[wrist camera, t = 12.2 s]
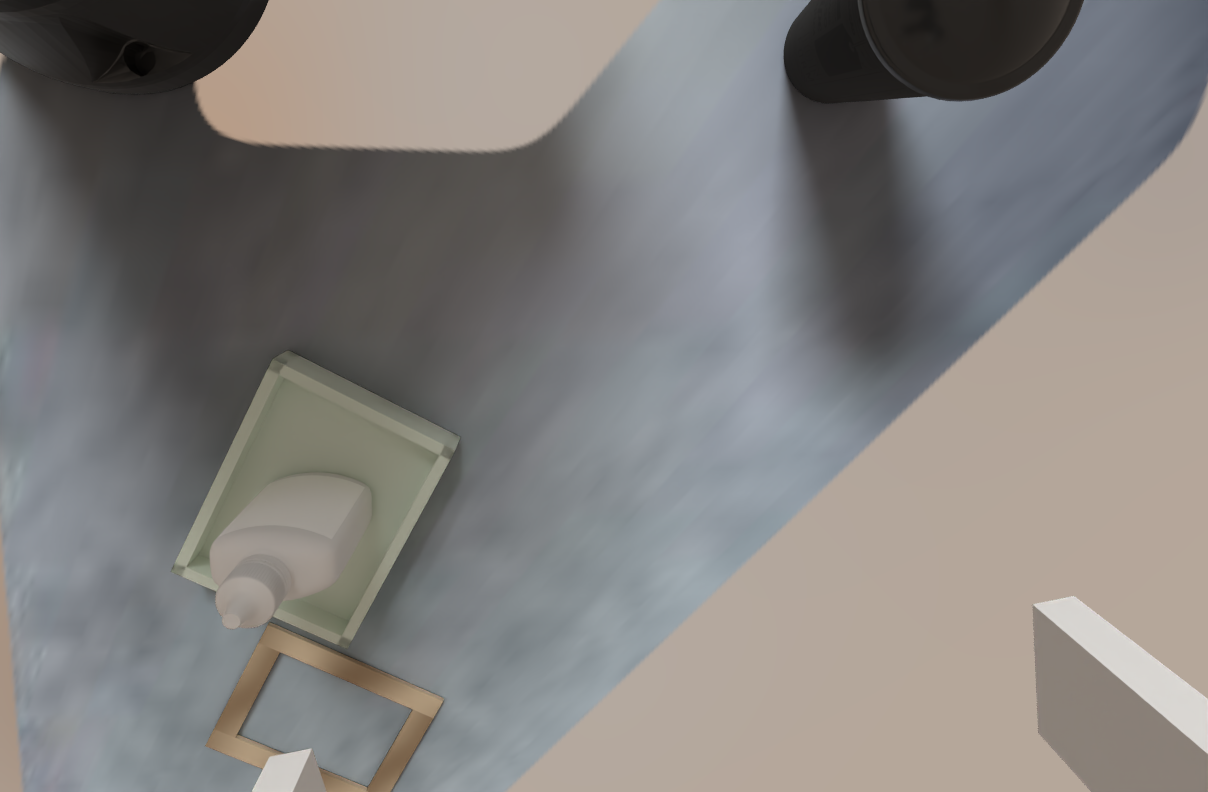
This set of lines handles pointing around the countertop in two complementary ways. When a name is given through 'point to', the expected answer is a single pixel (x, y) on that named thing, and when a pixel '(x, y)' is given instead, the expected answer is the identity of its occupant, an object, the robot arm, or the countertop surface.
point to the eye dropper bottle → (287, 544)
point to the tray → (331, 445)
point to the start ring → (339, 666)
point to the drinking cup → (922, 47)
